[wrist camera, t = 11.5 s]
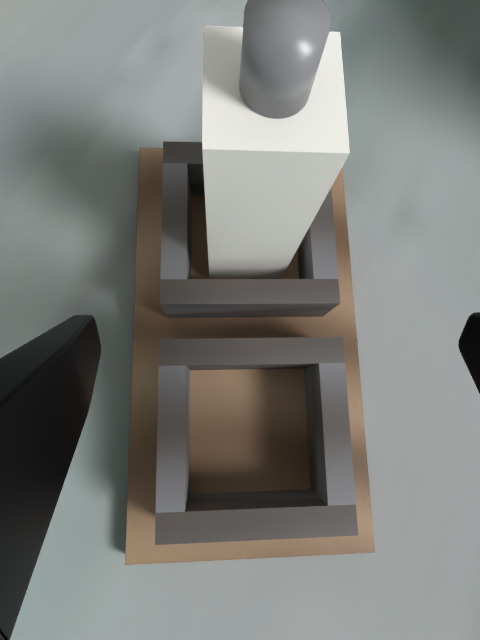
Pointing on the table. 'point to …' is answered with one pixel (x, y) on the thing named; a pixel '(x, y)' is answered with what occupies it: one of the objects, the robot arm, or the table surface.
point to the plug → (269, 133)
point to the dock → (241, 388)
